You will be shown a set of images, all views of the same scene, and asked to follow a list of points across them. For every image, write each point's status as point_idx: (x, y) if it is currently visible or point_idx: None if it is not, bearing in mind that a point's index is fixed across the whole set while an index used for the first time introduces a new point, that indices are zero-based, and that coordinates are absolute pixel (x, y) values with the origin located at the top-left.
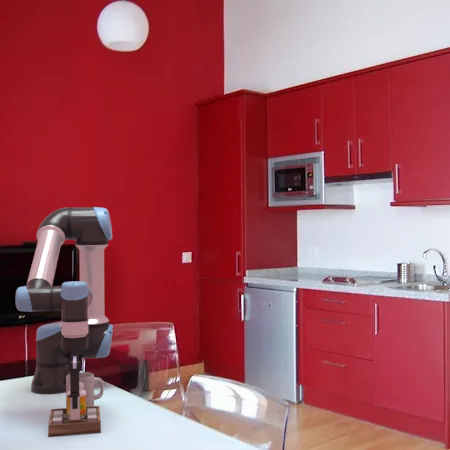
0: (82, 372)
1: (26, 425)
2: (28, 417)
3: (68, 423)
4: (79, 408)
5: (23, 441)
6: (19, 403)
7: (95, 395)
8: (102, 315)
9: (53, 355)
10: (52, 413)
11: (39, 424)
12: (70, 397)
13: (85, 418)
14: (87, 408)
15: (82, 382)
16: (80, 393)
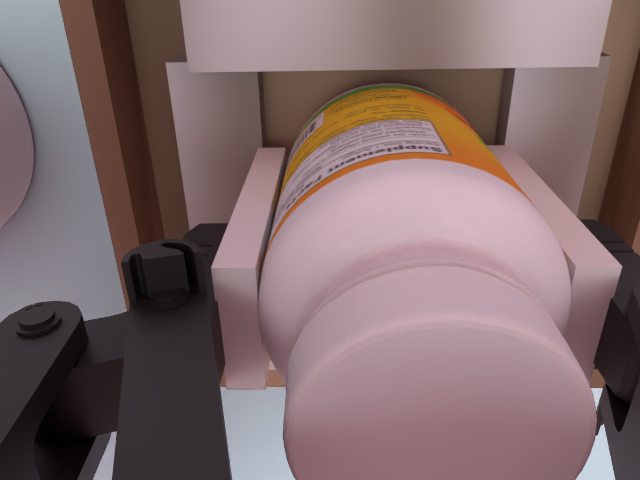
0: None
1: (279, 452)
2: (106, 452)
3: (634, 247)
4: (551, 192)
5: (597, 447)
6: None
7: None
8: None
9: None
10: (273, 373)
11: (274, 391)
12: (587, 379)
13: (263, 75)
14: (109, 67)
15: (400, 340)
16: (563, 272)
